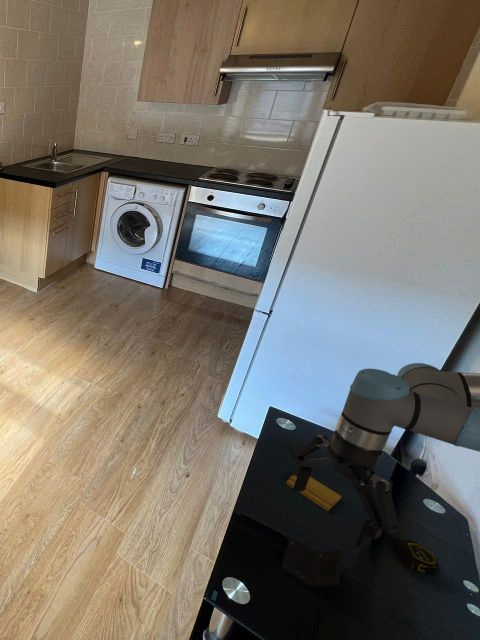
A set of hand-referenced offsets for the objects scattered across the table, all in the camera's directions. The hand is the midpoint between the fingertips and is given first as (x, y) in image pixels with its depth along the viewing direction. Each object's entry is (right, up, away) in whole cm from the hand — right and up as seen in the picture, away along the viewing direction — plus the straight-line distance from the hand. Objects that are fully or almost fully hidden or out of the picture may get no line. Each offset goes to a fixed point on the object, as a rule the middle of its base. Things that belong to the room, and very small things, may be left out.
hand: (328, 515), depth 91 cm
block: (+18, -9, +25) cm, 33 cm away
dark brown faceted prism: (-1, -16, +5) cm, 17 cm away
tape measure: (+26, -16, +7) cm, 31 cm away
